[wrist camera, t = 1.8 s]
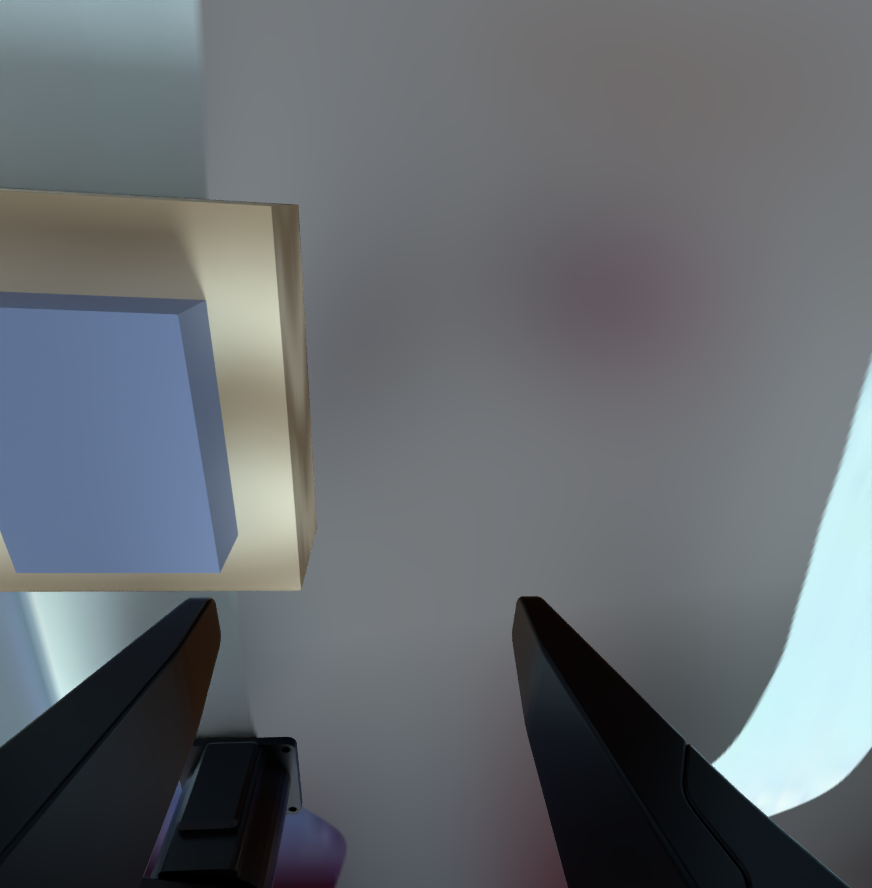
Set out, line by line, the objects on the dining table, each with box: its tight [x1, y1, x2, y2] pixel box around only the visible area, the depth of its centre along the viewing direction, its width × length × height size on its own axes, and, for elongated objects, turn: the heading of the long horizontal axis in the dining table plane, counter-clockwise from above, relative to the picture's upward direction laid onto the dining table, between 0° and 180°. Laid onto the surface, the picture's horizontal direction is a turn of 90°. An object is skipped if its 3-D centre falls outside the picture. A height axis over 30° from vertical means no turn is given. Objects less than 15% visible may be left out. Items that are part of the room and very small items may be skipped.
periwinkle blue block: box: [0, 292, 238, 573], centre depth 15 cm, size 8×6×2 cm
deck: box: [0, 188, 317, 592], centre depth 17 cm, size 13×12×4 cm
